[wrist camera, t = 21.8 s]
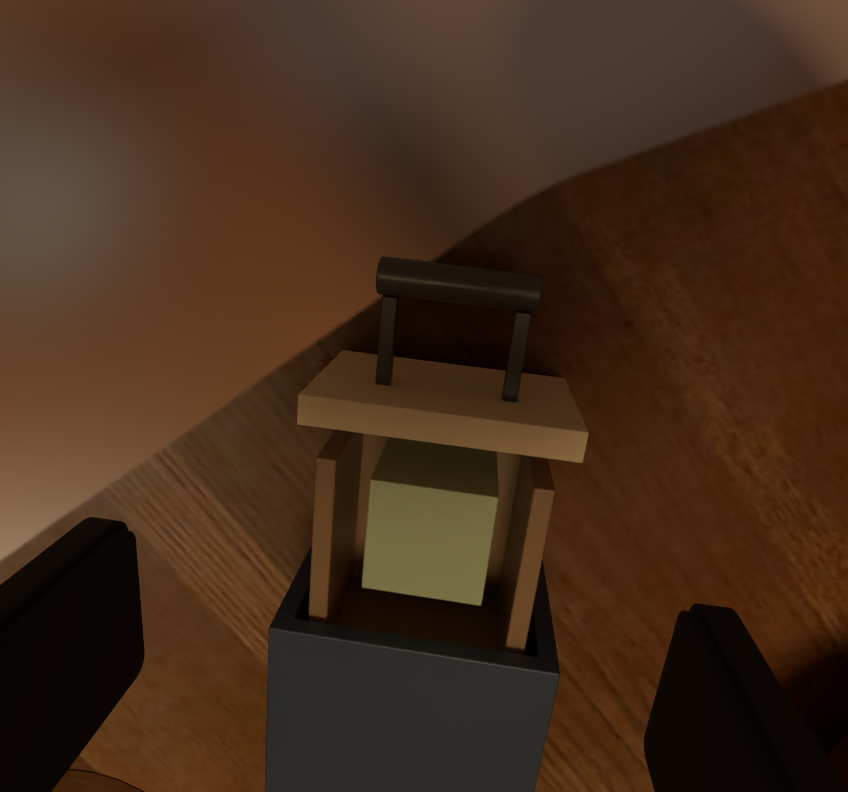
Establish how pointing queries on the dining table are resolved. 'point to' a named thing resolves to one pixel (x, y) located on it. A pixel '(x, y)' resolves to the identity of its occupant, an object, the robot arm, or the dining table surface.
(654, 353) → the dining table surface
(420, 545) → the block
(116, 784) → the decorative piece
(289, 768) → the cabinet
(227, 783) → the dining table surface
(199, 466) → the dining table surface
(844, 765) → the bowl
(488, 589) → the drawer
